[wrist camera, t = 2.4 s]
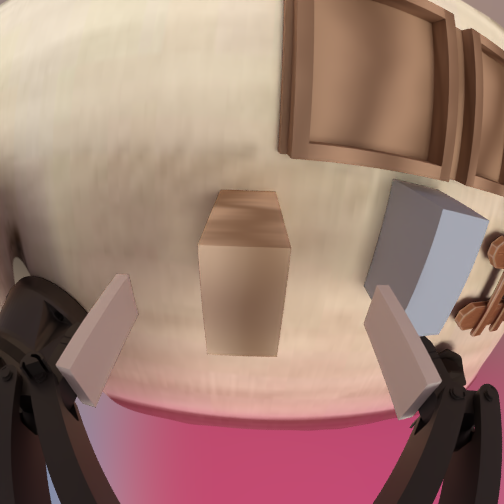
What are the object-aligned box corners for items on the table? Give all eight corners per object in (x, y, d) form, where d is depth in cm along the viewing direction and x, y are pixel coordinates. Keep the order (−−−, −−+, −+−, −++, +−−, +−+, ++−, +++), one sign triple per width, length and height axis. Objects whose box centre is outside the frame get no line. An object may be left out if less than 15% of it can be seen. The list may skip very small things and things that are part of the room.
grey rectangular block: (363, 285, 24) (391, 338, 17) (392, 178, 19) (443, 208, 13) (406, 286, 24) (438, 334, 18) (437, 189, 19) (489, 220, 13)
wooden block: (221, 271, 23) (207, 354, 15) (220, 189, 20) (197, 245, 12) (269, 273, 23) (276, 356, 15) (275, 191, 20) (291, 248, 12)
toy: (396, 413, 34) (419, 390, 24) (399, 378, 38) (419, 343, 28) (445, 409, 31) (482, 383, 21) (445, 375, 35) (478, 338, 25)
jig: (278, 151, 18) (282, 157, 15) (284, -20, 12) (289, -39, 9) (501, 192, 18) (520, 203, 16) (510, 69, 12) (530, 71, 9)
